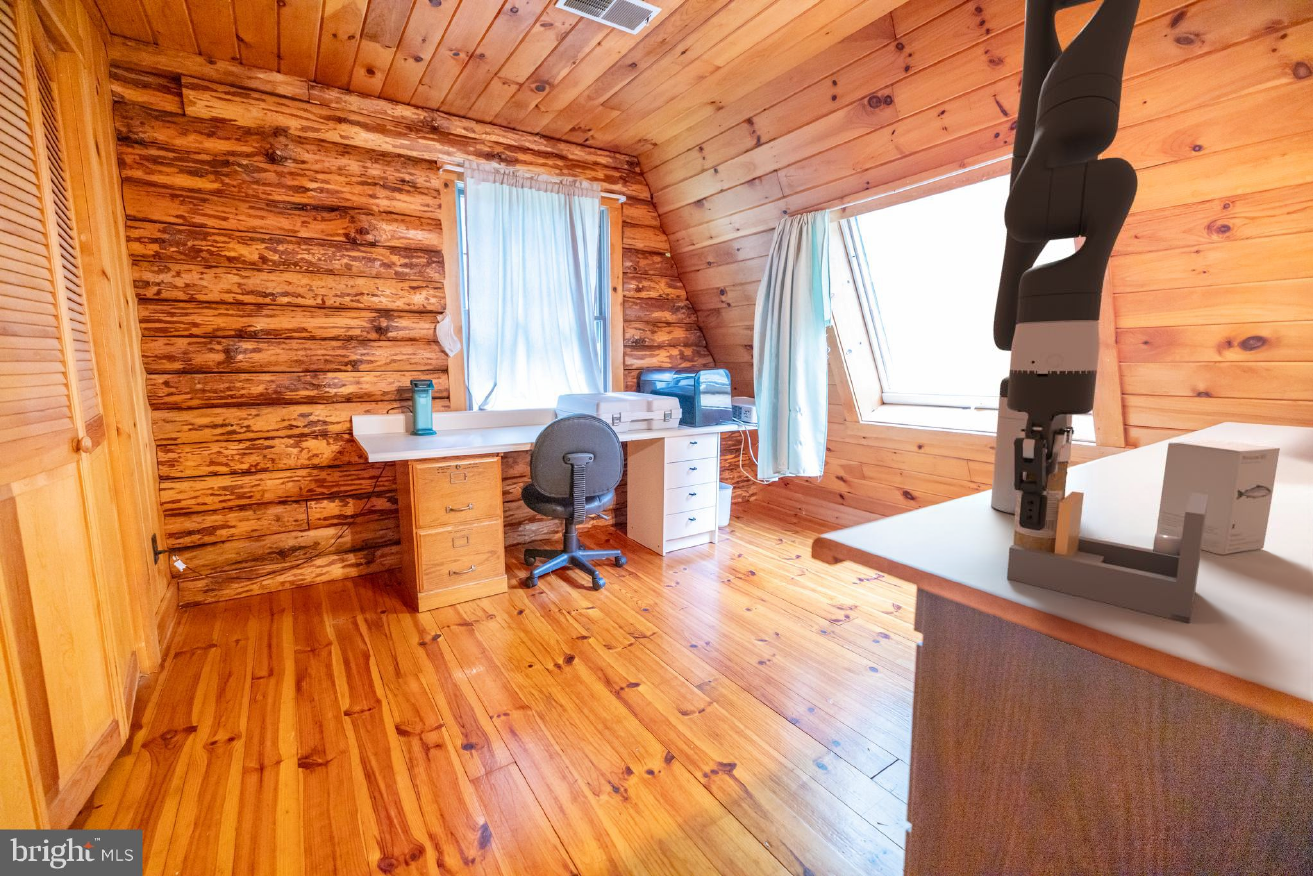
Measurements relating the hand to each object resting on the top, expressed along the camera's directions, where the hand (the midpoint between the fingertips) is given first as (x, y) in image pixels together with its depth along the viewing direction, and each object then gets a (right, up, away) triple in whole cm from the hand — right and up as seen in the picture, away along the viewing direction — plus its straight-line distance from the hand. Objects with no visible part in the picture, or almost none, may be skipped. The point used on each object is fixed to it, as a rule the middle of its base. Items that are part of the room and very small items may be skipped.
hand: (1037, 522), depth 61 cm
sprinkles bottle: (0, -5, +1) cm, 4 cm away
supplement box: (+27, -4, +8) cm, 29 cm away
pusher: (+3, -5, -2) cm, 6 cm away
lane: (+4, -6, -3) cm, 7 cm away
